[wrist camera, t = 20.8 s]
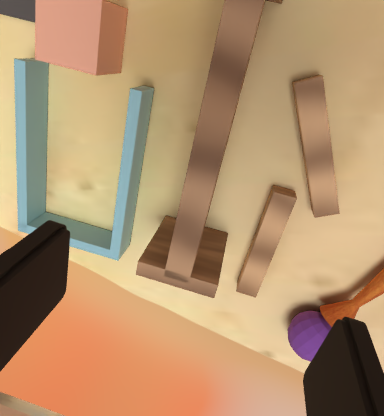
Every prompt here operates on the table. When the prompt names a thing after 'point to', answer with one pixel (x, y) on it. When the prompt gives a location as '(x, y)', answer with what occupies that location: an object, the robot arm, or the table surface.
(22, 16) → the grey square tile
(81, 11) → the clay-red block
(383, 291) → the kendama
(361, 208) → the table surface
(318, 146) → the plain stick
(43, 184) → the cubby
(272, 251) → the plain stick
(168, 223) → the crook rake
